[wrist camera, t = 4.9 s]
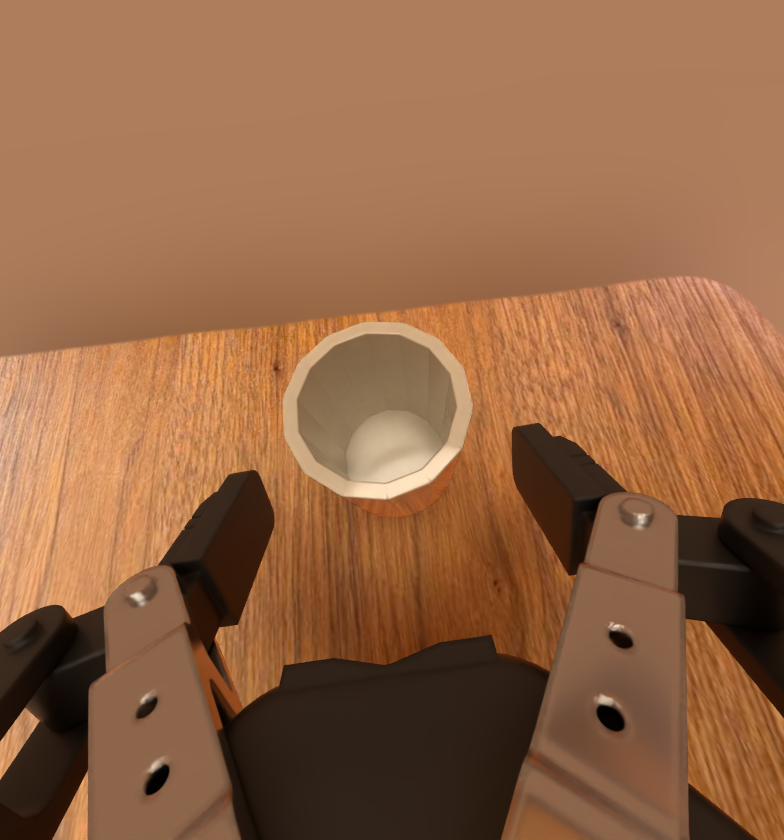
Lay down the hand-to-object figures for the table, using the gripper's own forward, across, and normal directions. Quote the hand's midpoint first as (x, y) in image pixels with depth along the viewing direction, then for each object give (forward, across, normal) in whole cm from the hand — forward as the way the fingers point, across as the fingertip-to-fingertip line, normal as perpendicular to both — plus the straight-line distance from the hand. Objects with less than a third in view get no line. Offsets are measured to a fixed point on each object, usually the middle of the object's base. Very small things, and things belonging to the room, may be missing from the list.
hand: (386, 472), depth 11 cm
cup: (+7, 0, +4) cm, 8 cm away
